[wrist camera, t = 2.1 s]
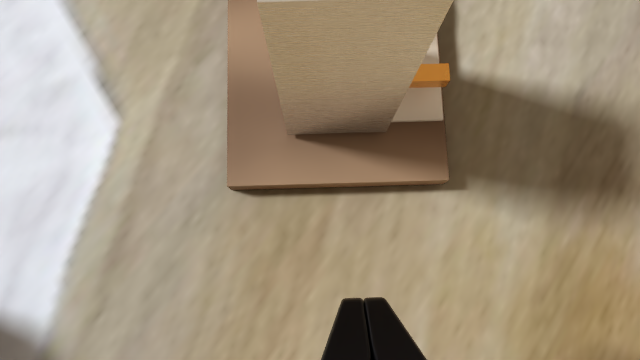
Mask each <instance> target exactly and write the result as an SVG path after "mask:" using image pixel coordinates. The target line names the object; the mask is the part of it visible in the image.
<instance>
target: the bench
mask: <svg viewBox="0 0 640 360" xmlns="http://www.w3.org/2000/svg"><path fill="white" fill-rule="evenodd" d="M421 64H440V55H439V42H438V32H437V34H436V36H435V38H434V40H433V42H432V43H431V45H430V47H429V49H428V51H427V53H426V55H425V57H424V59H423V61H422V63H421ZM448 180H449V172H448V159H447V146H446V133H445V120H444V107H443V94H442V87H425V88H408V90H407V92H406V94H405V96H404V98H403V100H402V102H401V104H400V106H399V108H398V110H397V112H396V114H395V116H394V118H393V120H392V121H391V123H390V125H389V127H388V129H387V131H386V132H369V133H332V134H295V135H288V134H287V130H286V125H285V121H284V117H283V112H282V108H281V104H280V99H279V95H278V91H277V87H276V82H275V78H274V74H273V69H272V65H271V61H270V56H269V52H268V48H267V43H266V39H265V35H264V31H263V26H262V22H261V18H260V13H259V9H258V5H257V0H228V112H227V187H229V188H230V189H231V190H250V189H286V188H321V187H357V186H393V185H428V184H444V183H445V182H447V181H448Z"/></svg>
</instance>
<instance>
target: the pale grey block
mask: <svg viewBox="0 0 640 360" xmlns="http://www.w3.org/2000/svg"><path fill="white" fill-rule="evenodd" d="M453 1H454V0H257V5H258V9H259V13H260V18H261V22H262V26H263V31H264V35H265V39H266V43H267V48H268V52H269V56H270V61H271V65H272V69H273V74H274V78H275V82H276V87H277V91H278V95H279V99H280V104H281V108H282V112H283V117H284V121H285V125H286V130H287V134H288V135H295V134H332V133H369V132H386V131H387V129H388V127H389V125H390V123H391V121H392V120H393V118H394V116H395V114H396V112H397V110H398V108H399V106H400V104H401V102H402V100H403V98H404V96H405V94H406V92H407V90H408V88H425V87H446V86H447V84H448V83H449V81H450V72H449V63H444V64H421V63H422V61H423V59H424V57H425V55H426V53H427V51H428V49H429V47H430V45H431V43H432V42H433V40H434V38H435V36H436V34H437V32H438V30H439V28H440V26H441V24H442V22H443V20H444V18H445V16H446V14H447V12H448V10H449V8H450V6H451V4H452V3H453Z"/></svg>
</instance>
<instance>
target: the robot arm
mask: <svg viewBox="0 0 640 360" xmlns="http://www.w3.org/2000/svg"><path fill="white" fill-rule="evenodd" d="M321 360H427V359H426V358H425V356H424V355H423V354H422V352H421V351H420V349H419V348H418V346H417V345H416V343H415V342H414V340H413V339H412V337H411V336H410V334H409V333H408V331H407V330H406V329H405V327H404V326H403V324H402V323H401V321H400V320H399V318H398V317H397V315H396V314H395V312H394V311H393V309H392V308H391V307H390V305H389V304H388V302H387V301H386V300H385V299H384V298H382V297H375V298H365V299H364V301H363V300H362V299H361V298H345V299H343V300H342V301H341V304H340V307H339V310H338V313H337V315H336V318H335V321H334V324H333V327H332V330H331V333H330V335H329V338H328V341H327V344H326V347H325V350H324V353H323V355H322V358H321Z"/></svg>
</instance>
